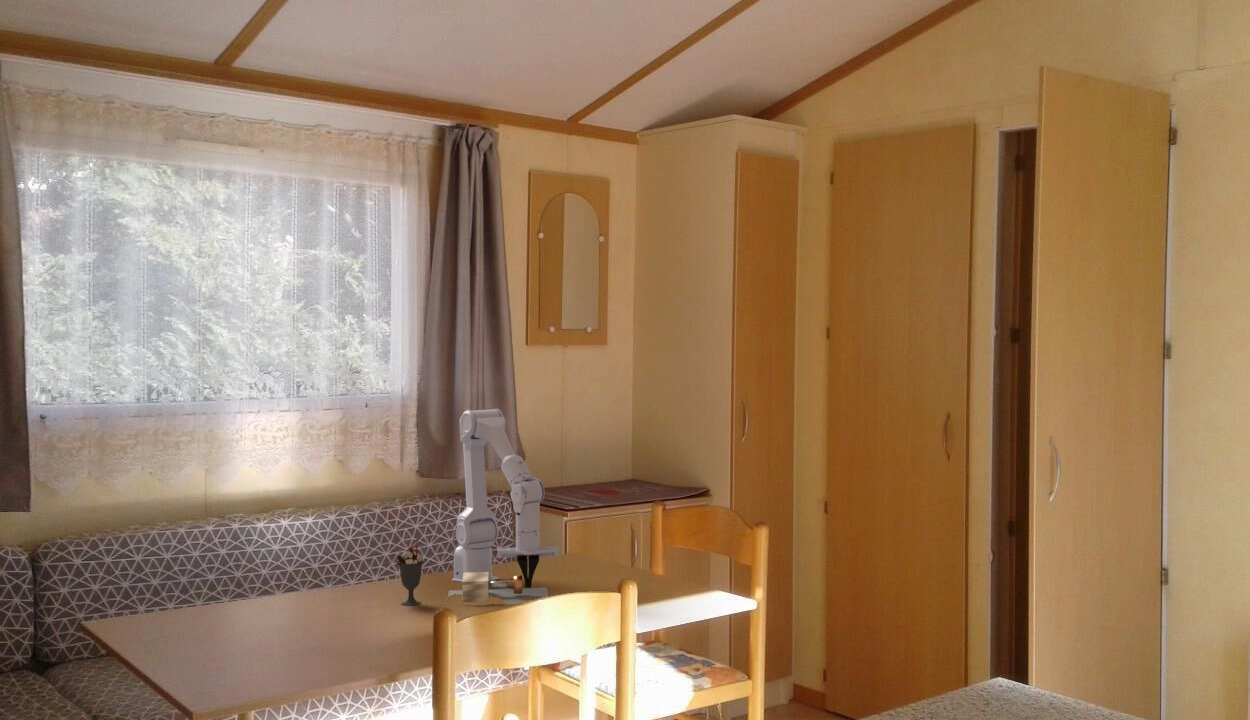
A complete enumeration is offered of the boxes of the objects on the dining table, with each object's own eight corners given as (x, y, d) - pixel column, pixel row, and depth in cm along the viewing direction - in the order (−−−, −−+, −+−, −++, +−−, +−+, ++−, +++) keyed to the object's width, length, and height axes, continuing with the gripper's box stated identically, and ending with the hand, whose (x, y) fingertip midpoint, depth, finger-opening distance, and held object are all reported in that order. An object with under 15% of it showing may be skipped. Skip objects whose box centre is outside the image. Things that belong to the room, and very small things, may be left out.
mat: (446, 607, 261) (446, 606, 261) (449, 591, 277) (449, 590, 277) (549, 604, 263) (549, 603, 263) (547, 588, 279) (547, 587, 279)
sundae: (428, 601, 267) (428, 538, 266) (420, 608, 260) (420, 543, 260) (401, 600, 267) (401, 537, 267) (393, 607, 261) (392, 543, 260)
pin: (480, 597, 267) (479, 578, 267) (480, 592, 272) (480, 574, 271) (522, 595, 268) (522, 577, 268) (522, 591, 273) (521, 573, 273)
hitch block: (462, 603, 264) (462, 581, 264) (463, 593, 274) (463, 572, 274) (488, 602, 265) (488, 581, 264) (488, 592, 275) (488, 571, 274)
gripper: (497, 534, 265) (497, 591, 266) (559, 532, 267) (559, 589, 267) (497, 528, 272) (497, 584, 273) (557, 527, 274) (557, 582, 274)
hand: (528, 586), depth 271 cm, fingers closed
